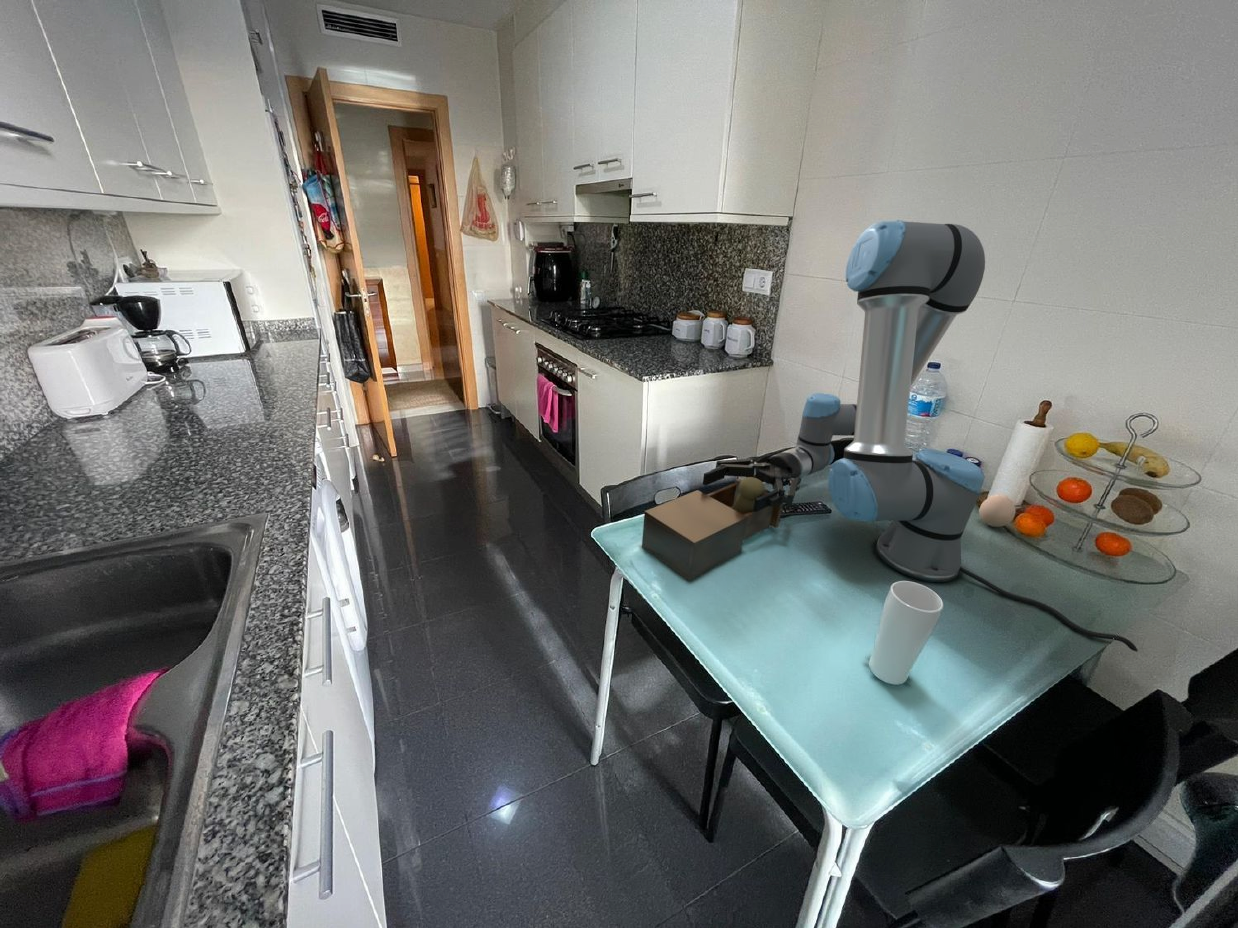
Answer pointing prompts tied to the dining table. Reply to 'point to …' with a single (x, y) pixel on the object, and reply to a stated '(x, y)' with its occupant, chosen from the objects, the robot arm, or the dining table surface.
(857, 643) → the dining table surface
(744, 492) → the olive pawn figure
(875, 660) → the drinking glass
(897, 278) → the robot arm
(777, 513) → the drawer
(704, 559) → the cabinet
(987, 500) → the egg
